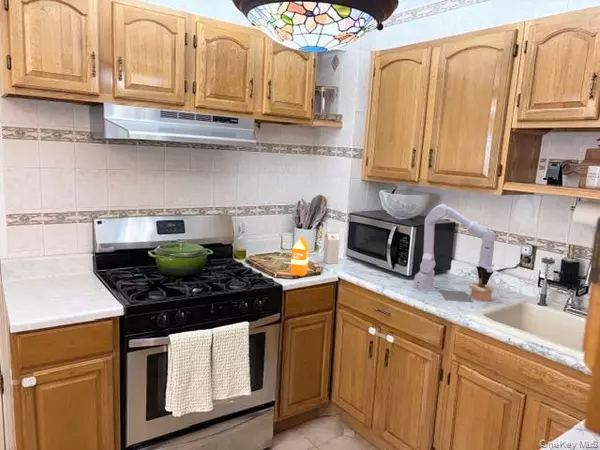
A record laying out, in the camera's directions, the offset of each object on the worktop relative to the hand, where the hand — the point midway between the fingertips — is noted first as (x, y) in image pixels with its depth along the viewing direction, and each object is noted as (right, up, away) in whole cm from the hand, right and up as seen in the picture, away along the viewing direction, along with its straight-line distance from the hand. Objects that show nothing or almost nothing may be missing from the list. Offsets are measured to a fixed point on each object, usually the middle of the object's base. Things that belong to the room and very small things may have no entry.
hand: (482, 282), depth 217 cm
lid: (-1, -3, +1) cm, 3 cm away
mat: (-13, -7, +2) cm, 15 cm away
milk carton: (-70, +5, +56) cm, 90 cm away
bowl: (0, -8, +1) cm, 8 cm away
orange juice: (-89, +1, +29) cm, 94 cm away
